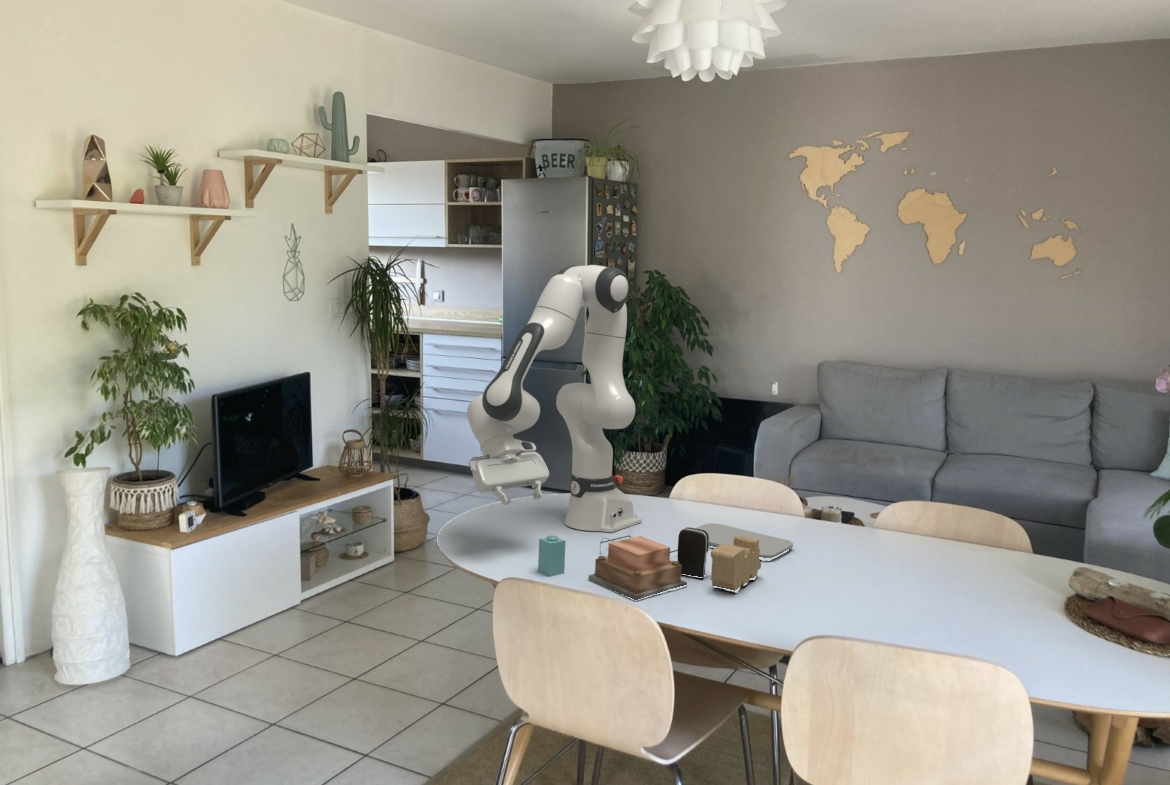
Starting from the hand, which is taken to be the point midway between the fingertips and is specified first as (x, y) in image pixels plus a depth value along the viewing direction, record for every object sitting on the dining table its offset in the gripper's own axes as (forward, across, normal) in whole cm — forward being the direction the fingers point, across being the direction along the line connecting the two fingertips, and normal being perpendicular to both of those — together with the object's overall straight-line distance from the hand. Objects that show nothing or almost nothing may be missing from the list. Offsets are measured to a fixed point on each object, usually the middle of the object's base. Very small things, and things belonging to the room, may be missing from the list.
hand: (523, 500), depth 229 cm
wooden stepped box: (+31, +12, -10) cm, 34 cm away
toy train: (+40, +31, -19) cm, 54 cm away
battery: (+33, +27, -12) cm, 44 cm away
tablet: (+26, +55, -5) cm, 61 cm away
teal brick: (+19, 0, +2) cm, 19 cm away
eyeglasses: (+20, +27, +1) cm, 34 cm away
